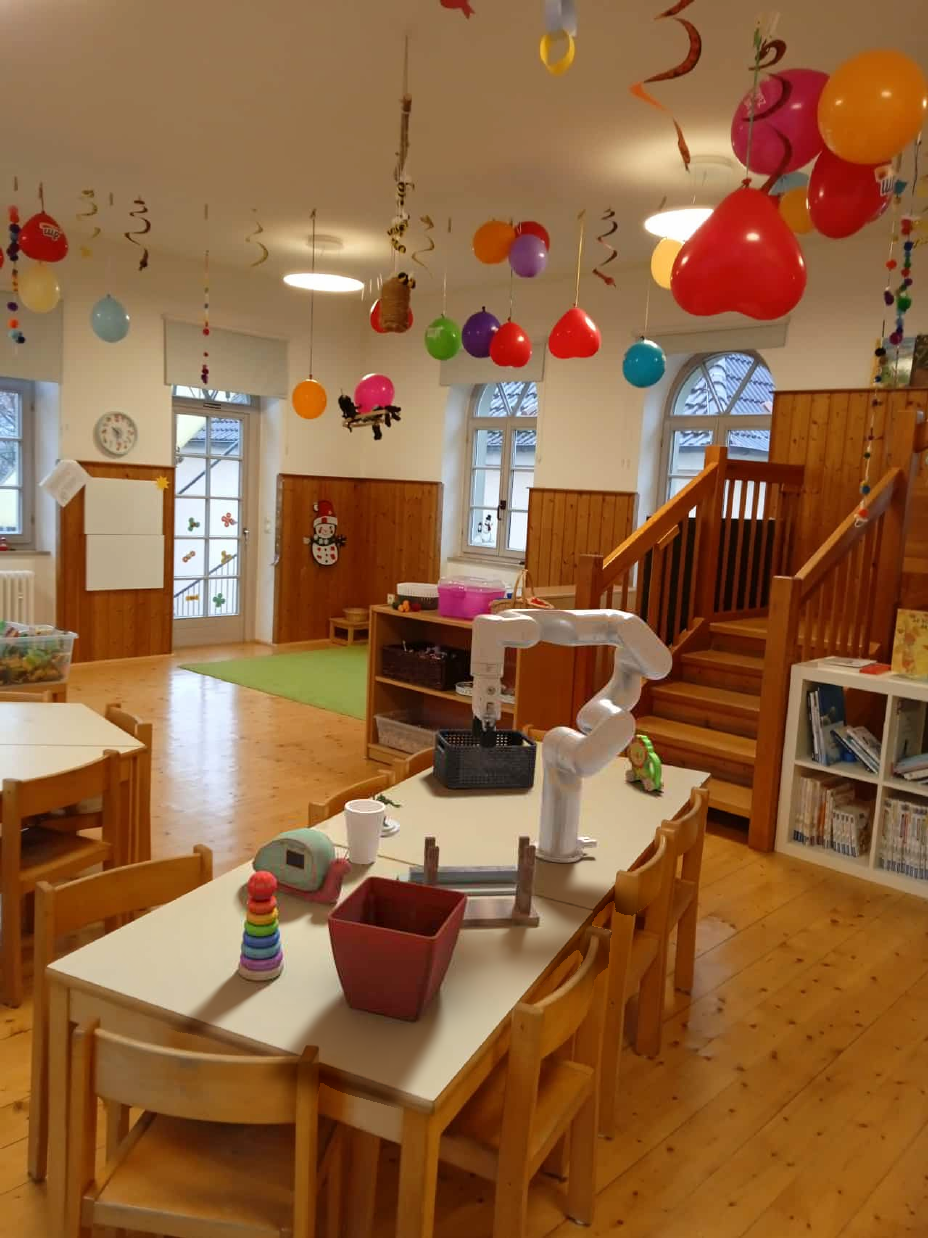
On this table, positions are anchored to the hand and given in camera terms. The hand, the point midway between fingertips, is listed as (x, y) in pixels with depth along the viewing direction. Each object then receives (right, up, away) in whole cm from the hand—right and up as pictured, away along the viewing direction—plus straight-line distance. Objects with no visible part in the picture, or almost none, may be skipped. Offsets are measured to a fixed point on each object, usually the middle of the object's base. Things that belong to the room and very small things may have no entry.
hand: (483, 741), depth 217 cm
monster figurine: (-27, -26, +24) cm, 44 cm away
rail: (-5, -30, -8) cm, 32 cm away
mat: (-5, -31, -8) cm, 32 cm away
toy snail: (-39, -30, -16) cm, 52 cm away
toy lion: (+51, -23, +75) cm, 94 cm away
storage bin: (+1, -21, +71) cm, 74 cm away
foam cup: (-28, -28, +3) cm, 40 cm away
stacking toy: (-41, -35, -49) cm, 73 cm away
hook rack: (-2, -33, -22) cm, 40 cm away
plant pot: (-16, -37, -55) cm, 68 cm away
